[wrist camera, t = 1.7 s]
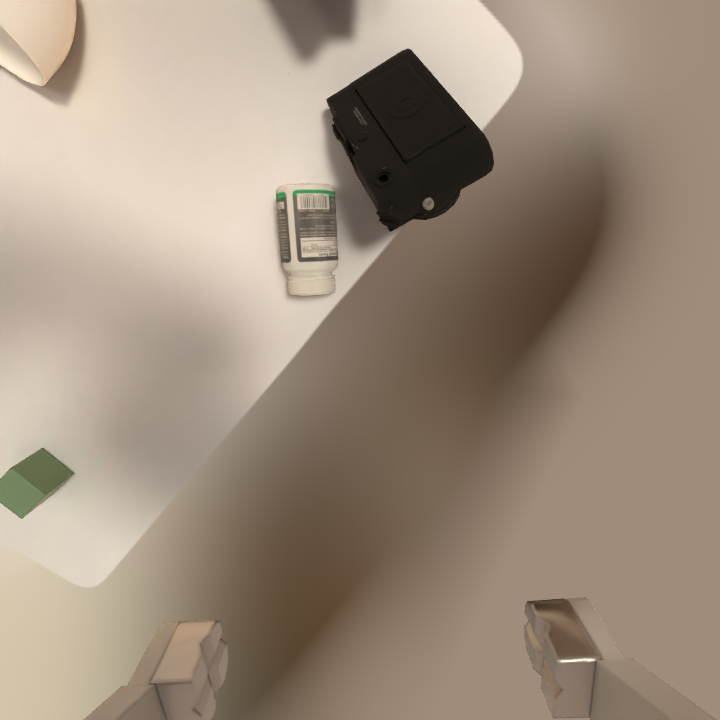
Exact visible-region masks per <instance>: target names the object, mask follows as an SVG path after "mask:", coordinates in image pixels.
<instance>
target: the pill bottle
mask: <svg viewBox="0 0 720 720" xmlns="http://www.w3.org/2000/svg"><path fill="white" fill-rule="evenodd" d="M276 201H277V211H278V224H279V234H280V246H281V259H282V266H283V268H284V269H285V270H286V271H287V272H289V273H290V276H289V277H288V289H289V294H292V295H323V294H330V293H334V292H335V278H334V277H335V275H333V274H332V271H333V270H334V269H335V268H336V267H337V265H338V246H337V226H336V205H335V190H334V188H333V187H332V186H331V185H327V184H290V185H283V186H280V187H278V188H277V190H276Z"/></svg>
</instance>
